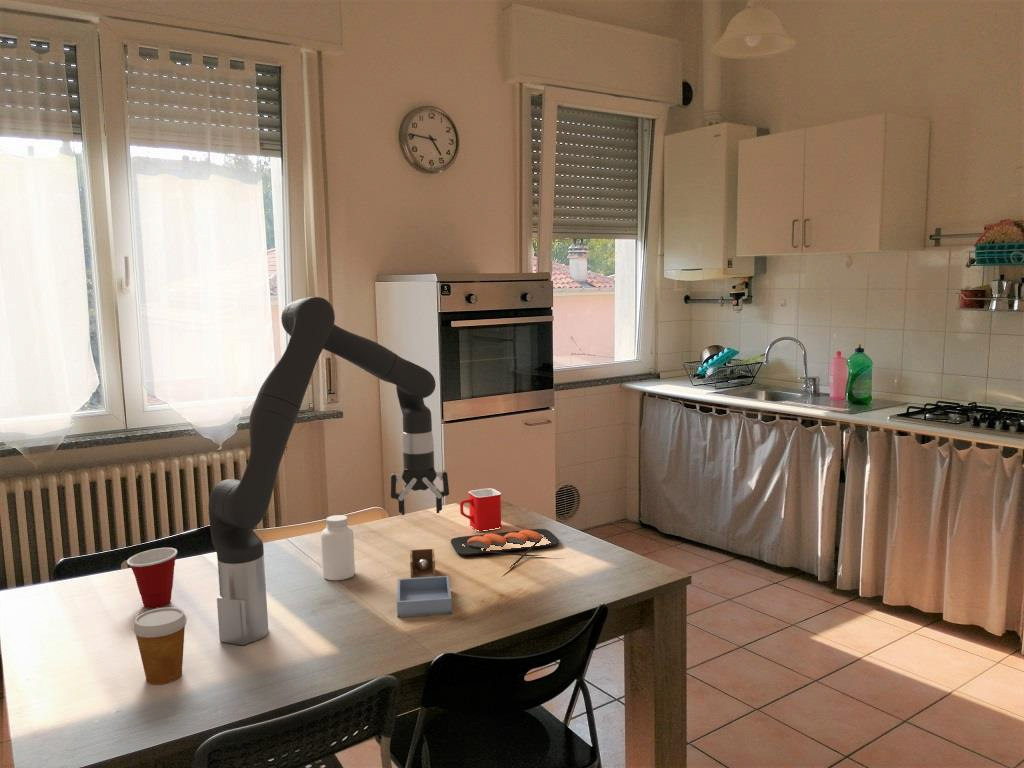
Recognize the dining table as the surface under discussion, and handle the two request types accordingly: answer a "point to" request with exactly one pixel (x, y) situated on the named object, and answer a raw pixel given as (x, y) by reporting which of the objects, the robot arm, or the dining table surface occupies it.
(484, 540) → the sushi plate
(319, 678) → the dining table surface
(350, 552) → the pill bottle
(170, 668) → the disposable coffee cup
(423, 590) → the dish
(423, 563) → the ball
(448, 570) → the dining table surface
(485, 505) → the mug
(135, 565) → the plastic cup
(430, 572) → the channel
